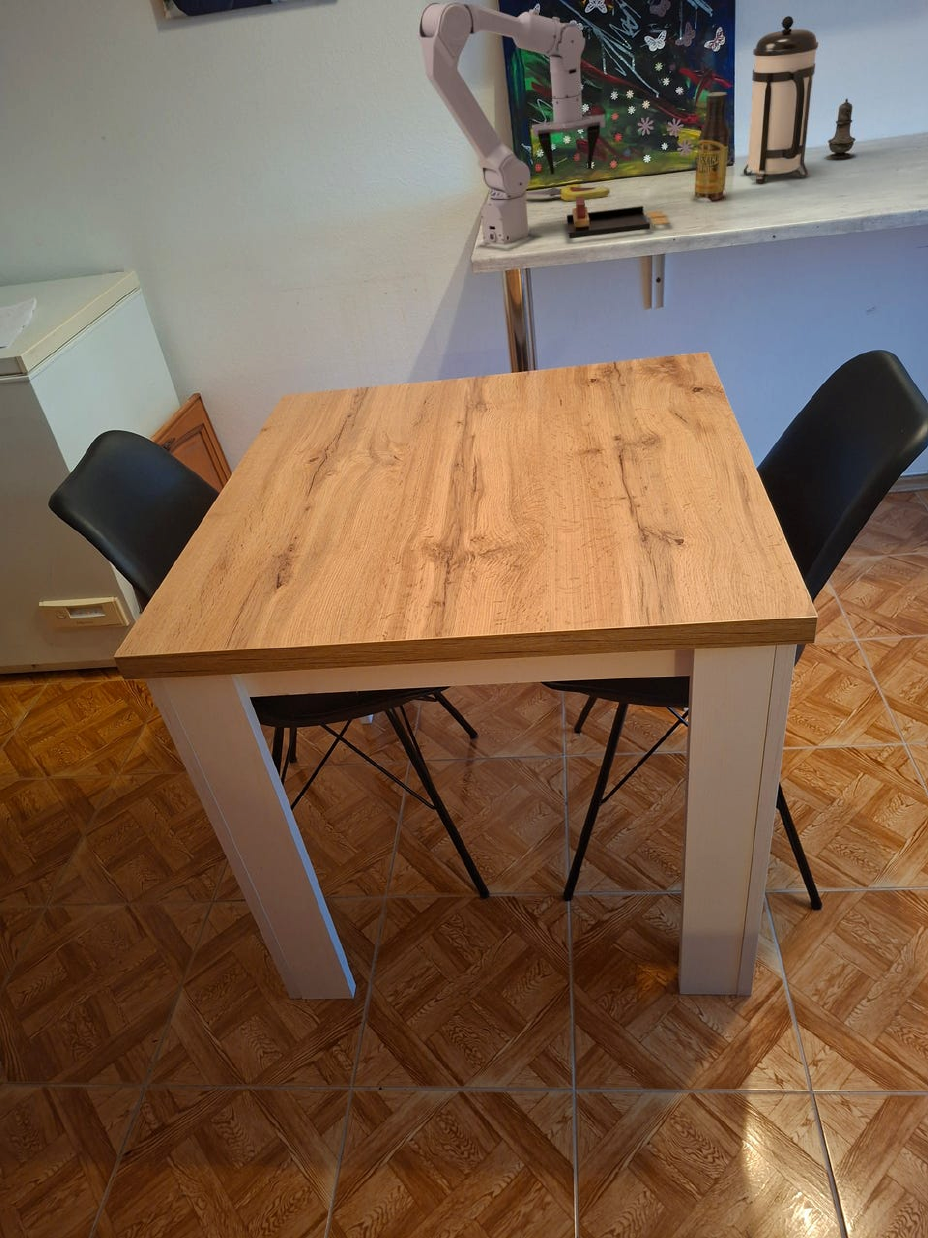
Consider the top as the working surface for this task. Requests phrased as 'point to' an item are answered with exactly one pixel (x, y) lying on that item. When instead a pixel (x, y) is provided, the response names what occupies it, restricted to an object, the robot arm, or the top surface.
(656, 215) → the cracker piece
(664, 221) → the cracker piece
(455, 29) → the robot arm
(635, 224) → the tray
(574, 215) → the brush
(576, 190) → the yellow scissors
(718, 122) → the brown glass bottle
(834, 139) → the salt shaker
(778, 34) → the coffee press
